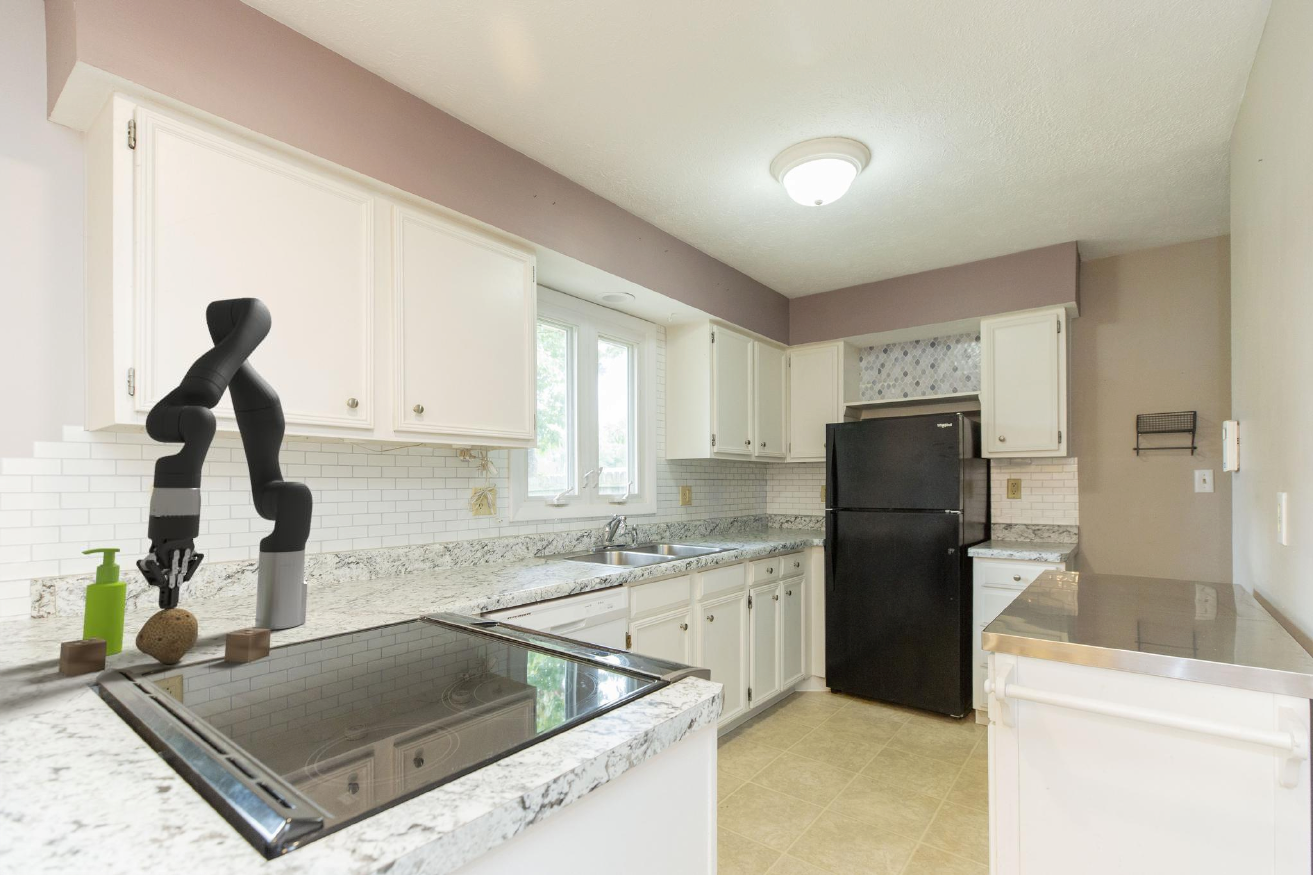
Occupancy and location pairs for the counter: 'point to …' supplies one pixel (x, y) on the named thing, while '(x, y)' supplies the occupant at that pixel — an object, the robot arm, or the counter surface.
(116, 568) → the soap dispenser
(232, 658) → the walnut block two pips
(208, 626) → the counter surface
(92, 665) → the walnut block three pips
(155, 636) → the natural sponge
